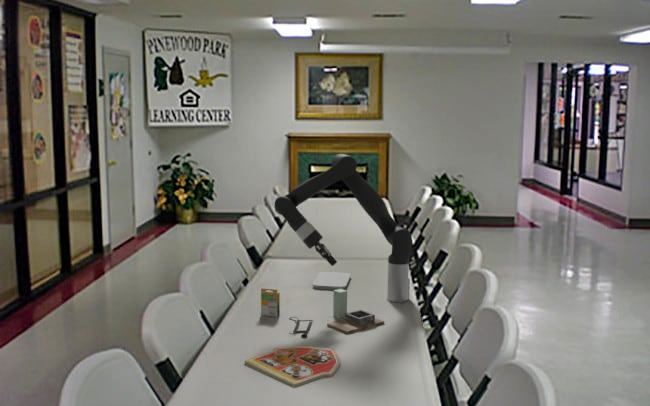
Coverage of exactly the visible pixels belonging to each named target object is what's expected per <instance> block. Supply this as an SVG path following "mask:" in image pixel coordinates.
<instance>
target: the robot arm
mask: <svg viewBox="0 0 650 406" xmlns="http://www.w3.org/2000/svg"><path fill="white" fill-rule="evenodd" d="M357 168H358V162H357V159H355V158H354V157H353V156H352V155H348V154H344V153H340V154H339V153H338V154H336V155H334V156H333V157H332V160H331V167H330V168H328V169H327V170H325V171H324V172H322V173H319V174H318V175H315V176H313V177H310V178H309V179H307V180H304V181H303V182H302V183H299V185H296V186H295V187H294V188H293V189H292V190H291V191H290V192H289V193H287V194H286V195H282V196H278V197H277V198H276V199H275V200H274V211H275V212H276V213H277V214H278V215H280V216H282V217H283V218H284V219H285V220H286V221H287V224H288V226H289V227H290V228H291V229H292V230H293V231H294V232H295V234H296V235H297V237H298V238H299V239H300V240H301V241H302V243H304V245H305V246H306V247H307V248H308V249H309V250H310V249H312V248H314V249H315V252H317V253H318V254H319V256H321V257H322V258H323V259H324V260H326V261H327V263H328V264H330V266H332V267H333V266H335V265H336V264H337V262H338V261H337V260H336V258H335V257H334V256H333V255H332V253H331V252H330V250H329V248H327V246H326V245H325V244H324V243H321V240H323V235H322V234H321V233H320V232H319V231H318V229H316V227H315V226H314V225H313V224H312V223H311V222H309V221H308V219H307V218H306V217H305V216H304V214H302V213H301V212H300V211H299V209H298V208H297V207H298V206H299V205H301V204H302V203H304V202H306V201H307V200H309V199H311V198H312V197H314V196H315V195H316V194H317V193H319V192H321V191H323V190H324V189H326V188H328V187H329V186H331V185H333V184H335V183H337V182H338V181H341V180H342V181H343V182H344V183H345V185H346V186H347V187H348V188H349V190H350V192H351V194H352V195H353V196H354V198H355V199H356V201H357V202H358V203H359V205H360V206H361V208H362V209H363V210H364V211H365V213H366V214H367V215H368V216H369V217H370V219H371V220H372V221H373V222H374V223H375V224H376V225H377V227H378V228H379V230H380V231H381V232H382V234H383V236H384V237H385V240H386V241H387V243H388V244H389V245H390V246H391V254H389V255H388V258H387V259H388V260H387V292H386V293H387V295H386V296H387V298H386V299H387V300H388V302H393V303H404V302H407V301H408V300H410V288H411V287H410V286H411V285H410V284H411V283H410V281H411V278H409V270H410V269H409V267H410V265H409V263H410V259H411V255H412V241H413V238H412V234H411V232H410V230H408V229H407V228H404V227H402V226H400V225H399V224H398V223H397V221H395V220H394V219H393V217H392V215H390V212H389V210H388V207H387V205H386V203H385V200H384V199H383V197H381V195H380V194H379V192H378V191H377V190H376V189H375V188H374V187H373V186H372V185H371V184H370V183H369V182H368V181H367V180H366V179H364V177H363V176H362V175H360V173H359V172H358V170H357Z"/></svg>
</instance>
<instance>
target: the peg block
mask: <svg viewBox="0 0 650 406" xmlns="http://www.w3.org/2000/svg"><path fill="white" fill-rule="evenodd" d="M332 304H333V306H332V307H333V315H332V316H333V317H334V318H338V319H342V318H343V319H344V318H345V313H348V290H345V289H344V290H343V289H338V290H333V303H332Z"/></svg>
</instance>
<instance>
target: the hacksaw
mask: <svg viewBox="0 0 650 406" xmlns="http://www.w3.org/2000/svg"><path fill="white" fill-rule="evenodd" d="M293 318H296V320H295V319H293ZM288 320H290V321H294V322H295V324H296V325H295V327H294V329H293V332H292V331H290V332H288V333H289V335H296V334H297V333H302V334H301V336H300V337H301V338H303V339H306V338H308V334H309V331H310V330H311V327H312V324H313V322H314V321H315V320H314V319H305V320H304V319H303V320H302V319H298V317H297V316H291V317H289V319H288ZM300 322H309V323H308V326H307V327H306V330H298V329H299V326H300Z"/></svg>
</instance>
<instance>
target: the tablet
mask: <svg viewBox="0 0 650 406" xmlns="http://www.w3.org/2000/svg"><path fill="white" fill-rule="evenodd" d="M351 276H352V275H351V273H348V272H337V271H335V272H331V271H321V272H318V274H317V276H316V277H315V279H314V280H313V282H312V286H313V288H314V289H315V290H332V291H334V290H338V289H343V290H345V289H346V287H347V285H348V284H349V282H350V279H351Z"/></svg>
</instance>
